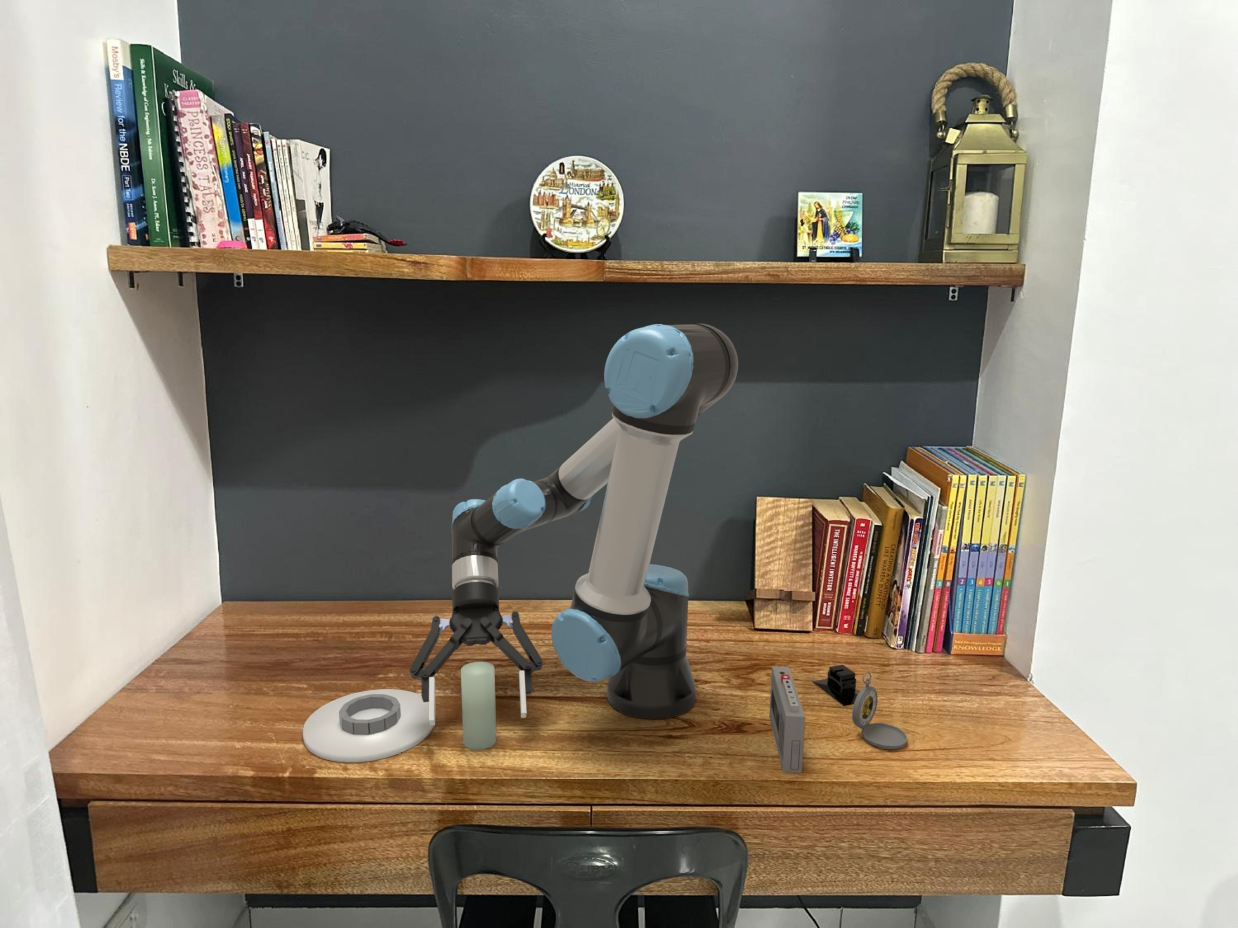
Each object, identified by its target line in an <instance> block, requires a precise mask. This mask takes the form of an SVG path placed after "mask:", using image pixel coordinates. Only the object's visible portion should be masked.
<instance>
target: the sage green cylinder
mask: <svg viewBox="0 0 1238 928" xmlns="http://www.w3.org/2000/svg"><path fill="white" fill-rule="evenodd" d="M495 674H496V673H495V666H494V665H493V664H492V663H491V662H487V661H474V662H473V661H472V662H470V663H469V662H468V663H467V664H465V665H463V666H462V667H461V668H460V686H461V708H462V710H461V711H462V712H461V714H462V735H463V736H462V738H463V739H462V741H463V742H462V743H463V746H464V747H465V748H467V749H469V750H471V751H482V750H487V749H489V748H491V747H493V746H494V745H495V744H496V742H497V720H496V719H497V717H496V716H497V713H496V712H497V711H496V709H497V708H496V680H495V679H496V678H495V677H496V676H495Z"/></svg>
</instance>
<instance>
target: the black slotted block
mask: <svg viewBox="0 0 1238 928" xmlns="http://www.w3.org/2000/svg"><path fill="white" fill-rule="evenodd" d="M856 674H857V673H855V672H854V671H853V670H851V669H850V668H849V667H847V666H846V665H844V664H838V665H833V666H829V669H828V671H827V678H824V679H819V680H813V681H812V683H813V684H814V685H815V686H816V687H818V688H819V689H821V691H823V692H824V693H826V694H827V695H828V696H829V697H831V698H833V699H834V700H835V701H836V702H837V703H839V704H840V705H842V706H843V707H848V706H852V705H853V706H854V702H855V700H856V697H857V695H858V694H859V692H860V691H858V690H857V689H856V687H857V684H856V683H857V678H856Z"/></svg>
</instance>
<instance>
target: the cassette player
mask: <svg viewBox="0 0 1238 928" xmlns="http://www.w3.org/2000/svg"><path fill="white" fill-rule="evenodd" d="M790 669H791V668H790V666H777V665H776V666H775V665H773V666H772V665H771V678H770V679H771V680H770V694H769V695H770V696H769V698H770V699H769V716H768V717H769V720H770V726H771V729H772V732H773V738H774V741H775V745H776V748H777V754H778V757H779V758H778V759H779V761H780V766H781V770H782V773H789V774H790V773H791V774H793V773H794V774H802V772H803V761H804V760H803V759H804V758H803V757H804V744H805V743H804V742H805V728H806V727H805V725H806V715H805V713H804V709H803V706H802V703H801V702H802V701H801V700H800V698H799V697H800V696H799V694H798V693H799V692H798V691H797V688H796V685H795V682H794V679H793V676H792V673H791V670H790Z"/></svg>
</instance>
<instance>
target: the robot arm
mask: <svg viewBox="0 0 1238 928" xmlns="http://www.w3.org/2000/svg"><path fill="white" fill-rule="evenodd" d="M737 353H738V352H737V350H736V348H735V346H734V343H733V342H732V341H731V339H730V338H729V336H728V335H726V333H724V332H723V331H722V330H720V329H719V328H716V327H715V326H712V325H710V324H705V323H689V324H686V323H685V324H661V323H659V324H658V323H657V324H650V325H646V326H643V327H639V328H636V329H633V330H630V331H629V332H627V333H626V334H624V335H623V336H621V337H620V338H619V339H618V340H617V342H615V344H614V345H613V347H612V348H611V349H610V352H609V354H608V356H607V358H606V360H605V361H606V362H605V364H604V365H605V366H604V373H603V376H604V377H603V379H604V387H605V389H606V390H607V391H608V393H609V394H608V395H607V396H608V397H609V400H610V402H611V403H612V405H613V406H612V410H611V416H612V419H611V420H609V421H608V422H607V423H606V424H605V425H604V426H603V427H602V428H601V429H600V430H599V431H597V432H596V433H595V434H594V435H593V436H592V437H591V438H590V439H589V440H587V441H586V442H585V443H584V444H583V445H582V446H581V447H580V448H579V449H577V451H575V453H573V454H572V455H571V456H570V457H569V458H567V459H566V460H565V461H564V462H563V463H562V464H561V465H560V466H559V467H557V469H556V470H555V471H553V472H552V473H551V474H549V476H547V477H545V478H541V479H536V480H533V481H532V480H527V479H525V478H516V479H513V480H512V481H510V482H509V483H508V484H504V485H503V486H501V487H500V489H498V490H497V491H496V492H495V493H494V494H493V495H491V496H490V497H489V498H487V499H486V500H485V499H478V498H473V499H468V500H466V501H461V502H459V503H458V504H457V505H456V506H455V507H454V509H453V511H452V520H451V521H452V522H451V527H450V531H451V560H452V561H451V562H452V565H451V578H452V579H451V582H452V584H451V586H452V589H453V590H452V596H451V597H452V598H451V599H452V601H451V602H452V603H451V604H452V605H451V608H452V609H451V611H452V612H451V617H450V618H440V616H438V615H435V616H433V617H432V619H431V621H432V622H431V627H430V630H429V632H428V634H427V636H426V638H425V640H424V641H423V643H422V646H421V647H420V649H419V651H418V653H417V655H416V657H415V658H414V660H413V662H412V664H411V667H410V668H409V674H410V677H411V678H412V680H419V681H421V696H422V700H423V702H429V723H430V725H434V726H436V679H435V677H434V676H435V675H436V674H437V673H438V672H439V671H440V669H441V668H442V667H443V666H444V664H446V662H447V661H448V660H449V658H451V656H452V655H453V654H454V653H455V651H457V650H458V649H459V648H460V647H461V645H463V644H464V645H466V646H467V647H469V646H470V647H472V646H474V645H480V646H481V645H482V646H483V645H485V646H486V645H487V644H489V643H492V644H493V645H494V646H495V647H496V648H498V649H499V650H500V651H501V652H502V653H503V654H504V655H505V656H506V657H507V658H508V659H509V660H510V661H511V663H513V664H514V665H515V667H516V668H517V669H519V670H518V671H519V672H518V682H519V684H518V685H519V702H520V703H519V704H520V705H519V706H520V707H519V708H520V719H524V718H525V719H526V718H527V713H528V712H527V696H526V695H532V693H533V673H534V672H536V671H541V670H542V667H543V662H544V660H543V659H542V656H541V655H540V653H539V652H538V651H537V650H538V649H536V647H535V645H534V644H533V643H532V640H531V639H530V637H529V635H528V634H527V632H526V630H525V629H524V627H523V626H522V624H521V617H520V613H519V612H518V611H513V612H511V614H507V615H502V614H501V612H500V594H499V591H500V590H499V588H498V587H499V569H498V568H499V565H498V564H499V563H498V548H499V547H500V546H501V545H503V544H504V543H507V542H508V541H509V540H510V539H512V538H513V537H515V536H516V535H518V534H520V533H521V532H524V531H528V530H530V529H533V528H537V527H539V526H542V525H546V524H548V523H550V522H555V521H556V520H560V519H564V518H566V517H572V516H575V515H577V514H578V513H580V512H582V511H584V510H586V509H587V508H588V507H589V505H590V504H591V500H592V497H593V496H594V495H595V494H596V493H597V492H598V491H600V490H601V489H602V488H603V487H604V486H606V490H605V494H604V495H605V496H604V499H603V504H602V508H601V513H600V517H599V523H598V527H597V531H596V537H595V541H594V544H593V545H594V546H593V549H592V550H593V551H592V555H591V558H590V559H591V560H590V565H589V569H588V572H587V573H586V574H583V575H581V576H580V577H579V578H578V579H577V580H576V582H575V586H574V589H573V593H572V599H571V604H570V607H569V608H567V609H564V610H562V611H561V612H559V614H558V615H556V617H555V618H554V620H553V622H552V625H551V631H550V633H551V641H552V647H553V648H554V651H555V653H556V655H557V656H558V658H559V661H560V662H561V663H562V665H563V666H564V667H565V669H566V670H567V671H568V672H570V673H571V674H572V675H574V676H575V677H577V678H579V679H581V680H583V681H585V682H586V681H587V682H590V683H591V682H593V683H596V682H601V681H604V680H605V679H607V678H609V679H608V680H607V689H606V690H607V691H606V692H607V693H606V694H607V695H606V697H607V698H606V699H607V701H608V703H609V705H610V706H611V707H613V709H615V710H616V711H618V712H620V713H622V714H624V715H627V716H629V717H632V718H633V717H634V718H638V719H645V720H662V719H670V718H673V717H677V716H680V715H682V714H684V713H687V712H688V711H690V710H691V709H692V707H693V706H694V705H695V703H696V697H697V696H696V694H697V693H696V692H697V688H696V682H695V678H694V675H693V673H692V669H691V666H690V663H689V659H688V657H687V650H688V647H687V646H688V645H687V644H688V619H689V618H688V616H689V597H690V593H689V582H688V581H689V580H688V577H687V576H686V575H685V574H684V573H683V572H682V571H681V570H678V569H675V568H673V567H670V566H665V565H661V564H651V559H652V554H653V552H654V551H653V550H654V547H655V542H656V539H657V534H658V531H659V527H660V523H661V518H662V514H663V510H664V507H665V503H666V500H667V499H666V497H667V494H668V490H669V486H670V482H671V478H672V474H673V470H674V466H675V461H676V458H677V454H678V450H679V445H680V442H681V441H682V440H684V439H685V438H687V437H689V436H691V435H693V432H694V430H695V426H696V423H697V419H698V417H699V416H700V415H702V414H703V413H704V412H705V411H706V410H708V409H709V408H710V407H711V406H713V405H714V404H715V403H717V402H718V401H719V400H720V399H722V398H723V397H724V396H725V395H726V394H727V393H728V392H729V391H730V390H731V388H732V387H733V385H734V383H735V382H736V378H737V374H738V369H739V360H738V354H737ZM503 625H506V626H507V628H508V629H509V630H512V632H513V635H514V637H515V638H516V639H517V642H518V643H519V644H520V646H521V648H522V649H523V651H524V653H525V655H526V656H527V658H528V659H529V660H530V661H528V660H527V658H525V657H524V656H523V655H522V654H521V652H520V651H518V650H517V649H516V647H514V646H513V644H512V643H510V642H509V641H508V639H507V638H506V637H505V636H504V635H503V634H502V632H501V631H500V629H501V628H502V626H503ZM447 628H449V629H450V630H451V631H452V634H451V636H450V637H449V640H448V641H447V642H446V643H445V645H443V647H442V648H441V649H440V650H439V652H438V653H436V655H435V656H434V657H433V658H432V660H431V661H430V662H429V663H428V664H427V666H425V665H426V663H427V661H428V660H429V657H430V655H431V653H432V651H434V648H435V646H436V644H437V642H438V641H439V637H440V636H441V635H440V634H442V633H445V630H446V629H447Z"/></svg>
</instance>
